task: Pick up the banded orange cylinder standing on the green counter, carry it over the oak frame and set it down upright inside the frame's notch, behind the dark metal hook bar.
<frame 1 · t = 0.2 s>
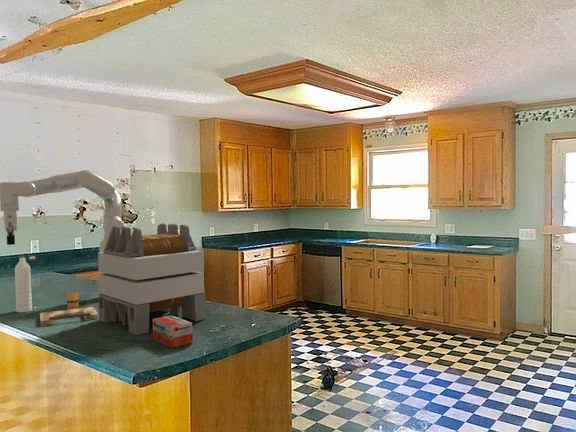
hand: (11, 243, 227), 31 cm above the table, tool pointing down, fingers open, 9 cm apart
transformer: (152, 320, 204), on the table
banded orange cylinder: (73, 310, 223), on the table
oak frame: (68, 318, 208), on the table
water bottle: (26, 311, 223), on the table
medicine box: (172, 342, 172), on the table
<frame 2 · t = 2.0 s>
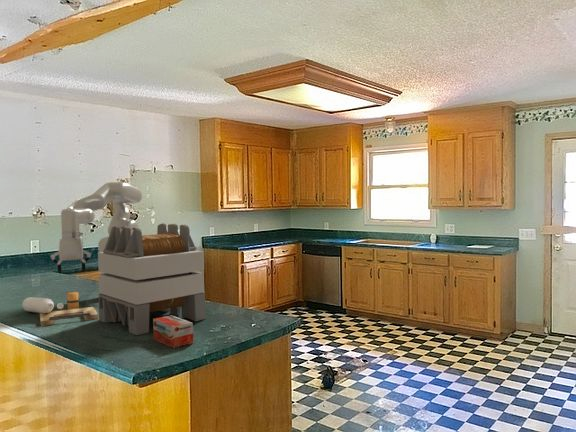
hand: (71, 272, 222), 18 cm above the table, tool pointing down, fingers open, 9 cm apart
water bottle: (32, 304, 223), point 3 cm above the table, touching oak frame
everything else where it was.
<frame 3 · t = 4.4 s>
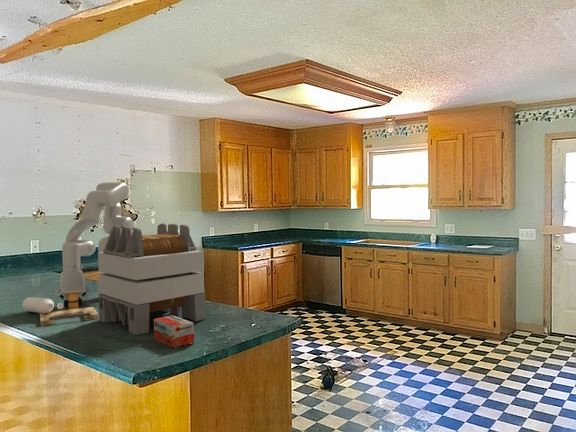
hand: (73, 307, 222), 1 cm above the table, tool pointing down, fingers closed on banded orange cylinder, 5 cm apart
banded orange cylinder: (73, 310, 223), on the table, touching gripper
everything else where it was.
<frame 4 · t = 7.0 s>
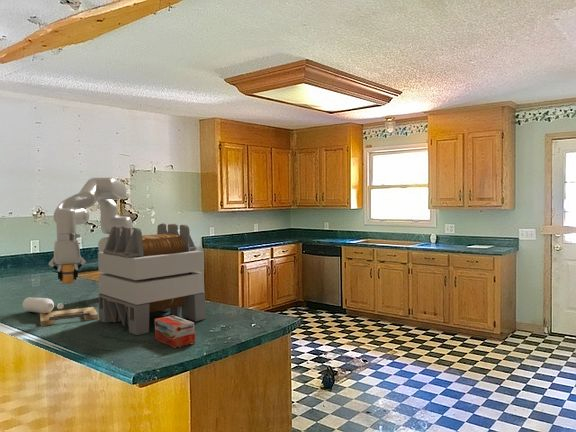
hand: (68, 279, 204), 17 cm above the table, tool pointing down, fingers closed on banded orange cylinder, 5 cm apart
banded orange cylinder: (68, 282, 204), point 16 cm above the table, touching gripper
everything else where it was.
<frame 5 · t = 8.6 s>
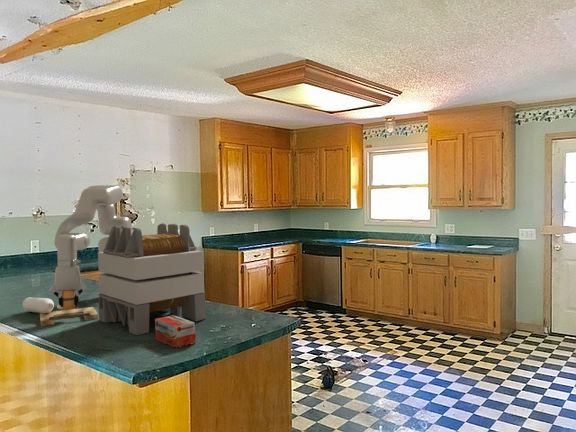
hand: (68, 305, 204), 6 cm above the table, tool pointing down, fingers closed on banded orange cylinder, 5 cm apart
banded orange cylinder: (68, 308, 204), point 5 cm above the table, touching gripper
everything else where it was.
when the fingers open (4 cm above the table, at t = 9.8 s): banded orange cylinder drops 3 cm, on the table.
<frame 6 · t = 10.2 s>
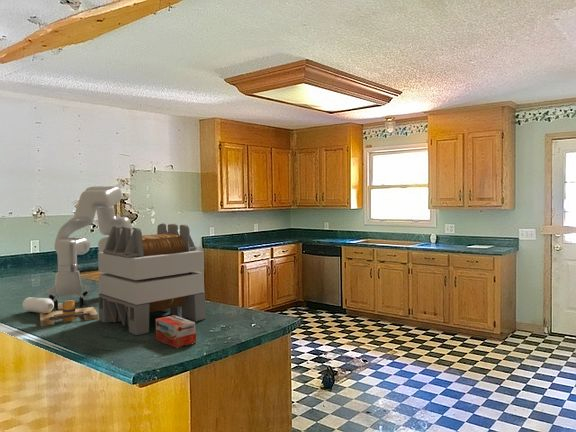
hand: (69, 308, 205), 5 cm above the table, tool pointing down, fingers open, 9 cm apart
banded orange cylinder: (69, 320, 205), on the table
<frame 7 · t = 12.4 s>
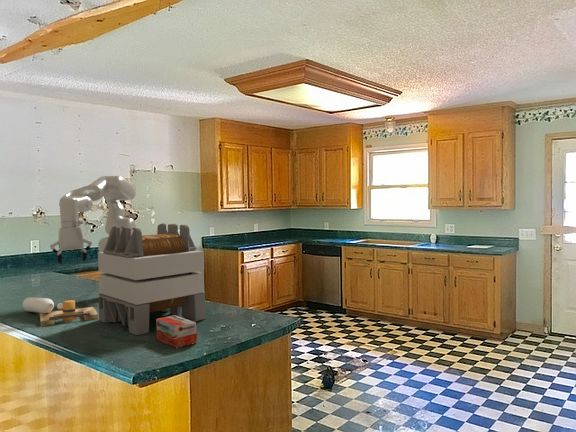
hand: (72, 262, 216), 23 cm above the table, tool pointing down, fingers open, 9 cm apart
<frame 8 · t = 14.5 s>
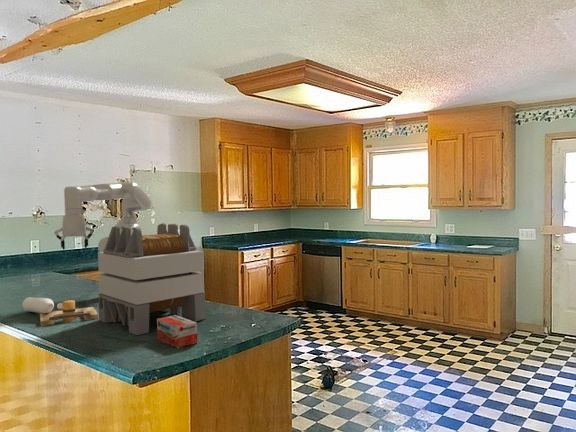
hand: (74, 248, 228), 28 cm above the table, tool pointing down, fingers open, 9 cm apart
at the end: banded orange cylinder inside the target area (0.5 cm from its centre), on the table; banded orange cylinder tilted 0°; the gripper is holding nothing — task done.
